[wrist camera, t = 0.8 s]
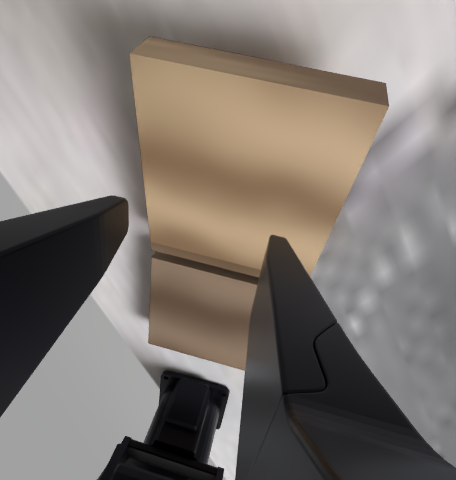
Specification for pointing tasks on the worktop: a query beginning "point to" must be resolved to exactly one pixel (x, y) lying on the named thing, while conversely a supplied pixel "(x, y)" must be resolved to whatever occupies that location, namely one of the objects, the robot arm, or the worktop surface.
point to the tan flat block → (200, 309)
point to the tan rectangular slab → (246, 151)
